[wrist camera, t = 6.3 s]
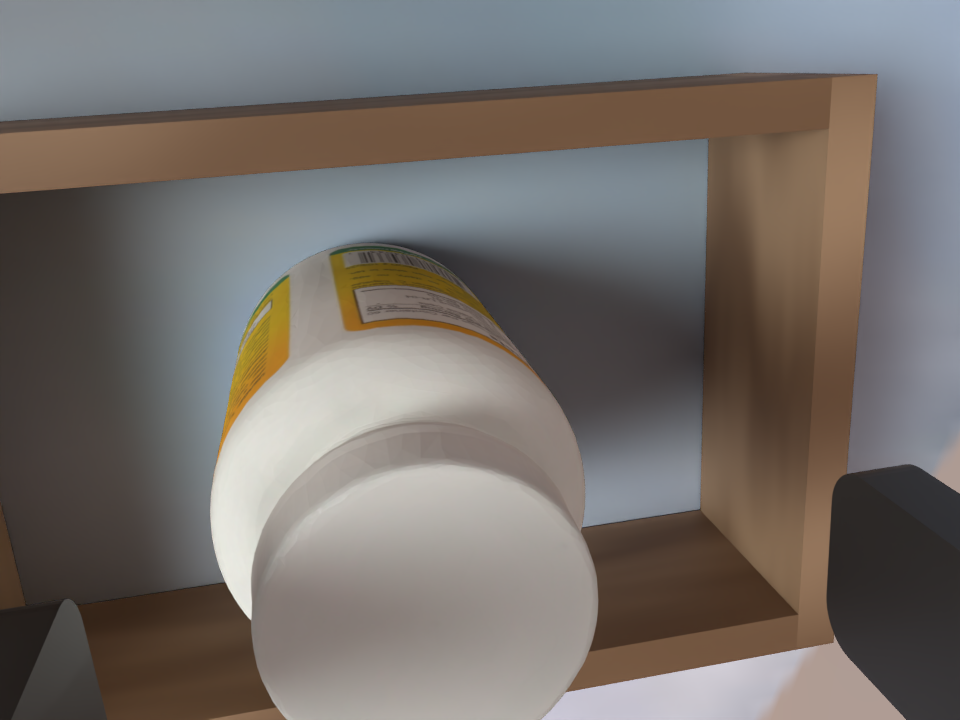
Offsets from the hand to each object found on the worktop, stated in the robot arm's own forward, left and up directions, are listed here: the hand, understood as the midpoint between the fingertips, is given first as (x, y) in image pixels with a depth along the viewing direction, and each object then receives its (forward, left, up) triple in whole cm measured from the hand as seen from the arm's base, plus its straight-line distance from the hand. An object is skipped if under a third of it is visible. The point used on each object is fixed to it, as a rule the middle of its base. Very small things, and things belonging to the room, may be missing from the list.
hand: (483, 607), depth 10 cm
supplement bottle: (+1, 0, -10) cm, 10 cm away
